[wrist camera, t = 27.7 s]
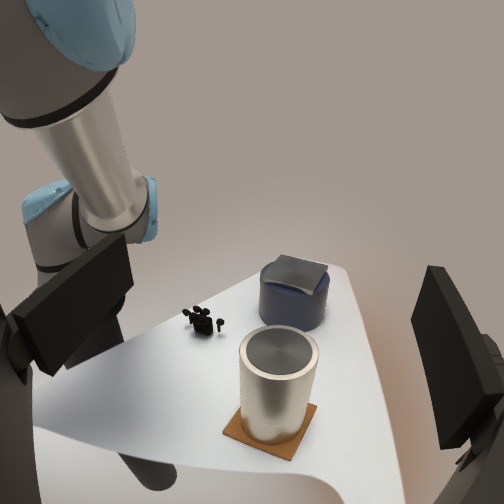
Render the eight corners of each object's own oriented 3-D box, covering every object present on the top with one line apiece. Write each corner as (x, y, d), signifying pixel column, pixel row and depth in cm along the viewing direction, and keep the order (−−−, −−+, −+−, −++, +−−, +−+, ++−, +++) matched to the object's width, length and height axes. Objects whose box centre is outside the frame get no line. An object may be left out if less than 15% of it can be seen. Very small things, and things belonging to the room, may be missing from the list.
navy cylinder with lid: (247, 320, 50) (248, 278, 47) (274, 287, 59) (277, 249, 56) (312, 340, 46) (319, 298, 42) (330, 302, 55) (337, 263, 51)
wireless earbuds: (226, 335, 47) (225, 309, 45) (219, 345, 45) (217, 319, 43) (186, 324, 49) (183, 298, 47) (178, 333, 47) (174, 307, 45)
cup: (229, 430, 31) (224, 361, 26) (257, 389, 37) (260, 316, 32) (288, 454, 28) (302, 390, 23) (311, 408, 34) (328, 336, 29)
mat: (222, 433, 31) (222, 431, 31) (255, 386, 38) (255, 384, 38) (290, 461, 28) (290, 459, 28) (316, 407, 35) (317, 405, 34)
